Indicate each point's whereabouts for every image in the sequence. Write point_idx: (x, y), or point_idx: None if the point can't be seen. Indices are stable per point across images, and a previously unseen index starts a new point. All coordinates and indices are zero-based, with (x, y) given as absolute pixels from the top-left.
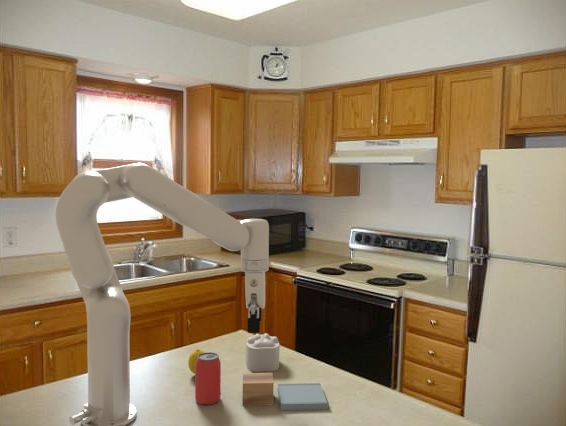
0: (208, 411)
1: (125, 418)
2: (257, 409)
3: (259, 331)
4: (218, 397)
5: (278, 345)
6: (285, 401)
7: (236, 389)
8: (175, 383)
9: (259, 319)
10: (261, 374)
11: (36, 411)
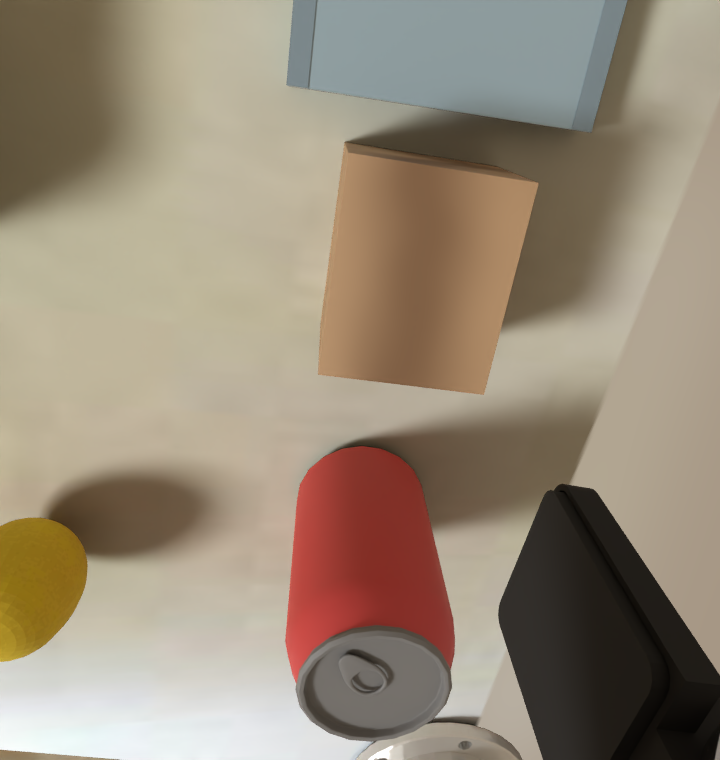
0: (475, 494)
1: (489, 756)
2: (523, 268)
3: (592, 495)
4: (401, 465)
5: None
6: (560, 91)
7: (257, 351)
8: (157, 618)
9: (701, 660)
10: (363, 247)
11: None
